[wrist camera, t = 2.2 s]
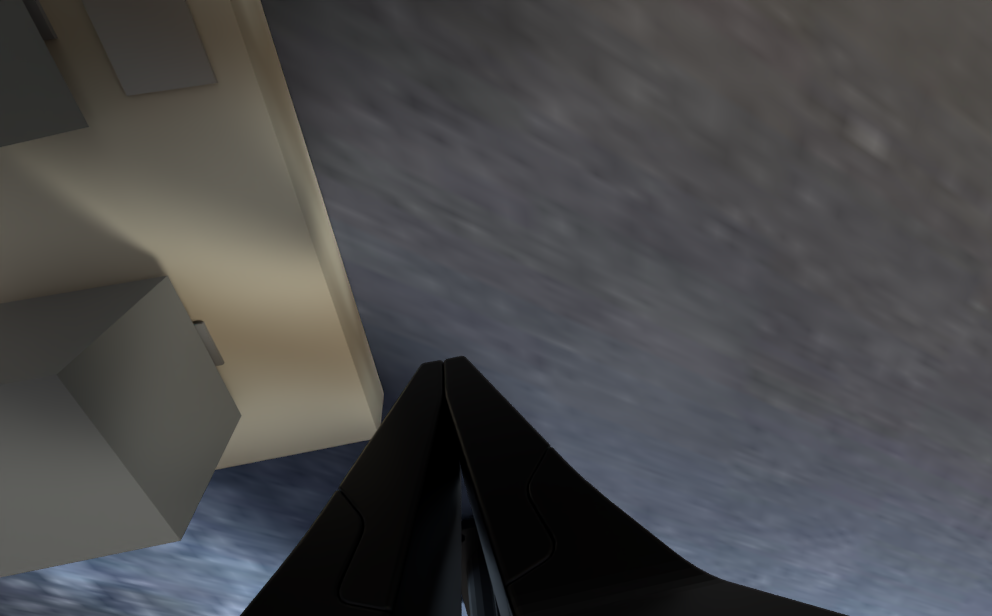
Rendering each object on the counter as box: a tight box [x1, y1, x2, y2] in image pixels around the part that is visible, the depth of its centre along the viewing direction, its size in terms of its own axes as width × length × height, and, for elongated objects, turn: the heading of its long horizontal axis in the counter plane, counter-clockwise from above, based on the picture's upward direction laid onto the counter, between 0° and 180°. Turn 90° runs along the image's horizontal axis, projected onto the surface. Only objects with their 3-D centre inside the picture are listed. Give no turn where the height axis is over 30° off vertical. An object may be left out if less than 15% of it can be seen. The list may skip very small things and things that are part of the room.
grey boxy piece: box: [0, 275, 242, 577], centre depth 9 cm, size 4×4×4 cm
